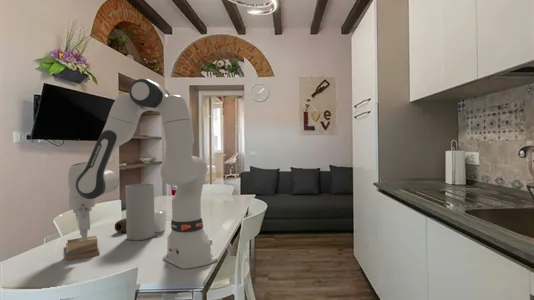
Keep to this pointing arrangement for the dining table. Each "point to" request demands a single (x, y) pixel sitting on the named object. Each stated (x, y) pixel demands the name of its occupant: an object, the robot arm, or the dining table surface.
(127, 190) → the cylinder vase
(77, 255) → the board
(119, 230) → the brown wooden tube
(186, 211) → the robot arm
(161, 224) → the white cup
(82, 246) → the sanding block
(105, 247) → the dining table surface
